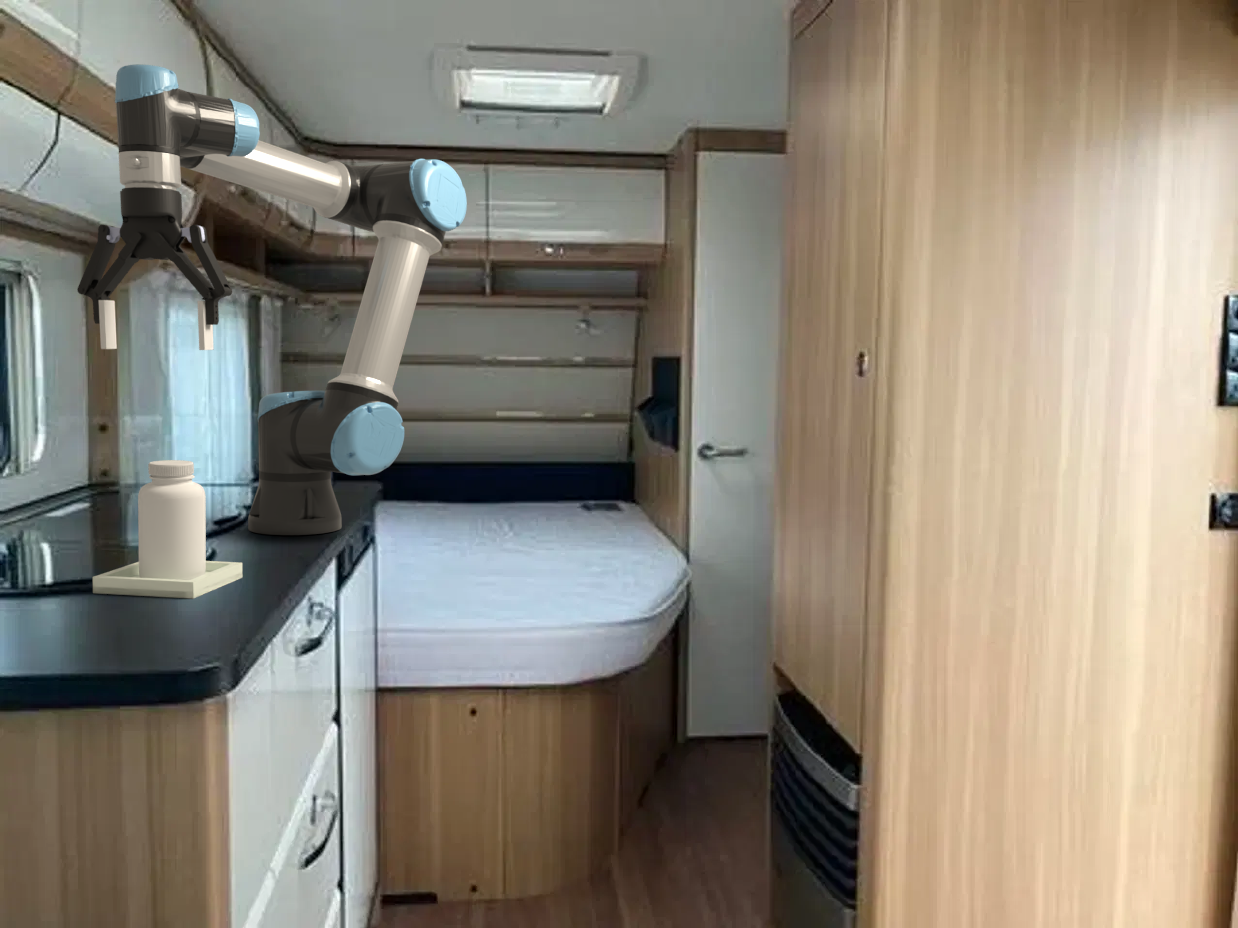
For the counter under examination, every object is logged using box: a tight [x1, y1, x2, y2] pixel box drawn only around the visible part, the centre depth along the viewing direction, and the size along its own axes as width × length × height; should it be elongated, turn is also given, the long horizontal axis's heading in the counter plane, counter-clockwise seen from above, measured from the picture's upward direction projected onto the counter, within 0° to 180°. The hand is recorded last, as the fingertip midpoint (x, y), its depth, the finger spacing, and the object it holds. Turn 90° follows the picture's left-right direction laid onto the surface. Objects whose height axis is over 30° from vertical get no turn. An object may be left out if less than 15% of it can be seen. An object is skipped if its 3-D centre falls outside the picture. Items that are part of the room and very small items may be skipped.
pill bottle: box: [137, 459, 207, 580], centre depth 140 cm, size 8×8×15 cm
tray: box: [92, 560, 243, 599], centre depth 141 cm, size 13×13×2 cm
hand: (157, 349), depth 149 cm, fingers open, 13 cm apart
